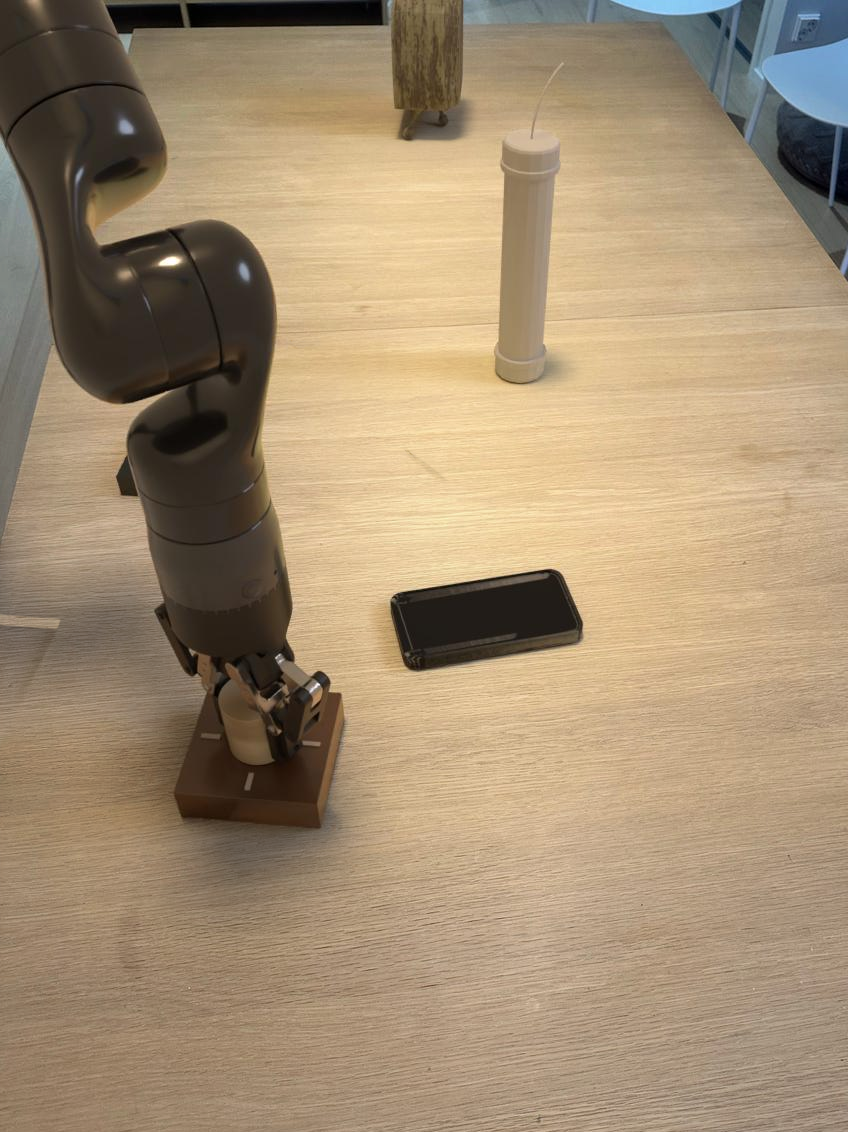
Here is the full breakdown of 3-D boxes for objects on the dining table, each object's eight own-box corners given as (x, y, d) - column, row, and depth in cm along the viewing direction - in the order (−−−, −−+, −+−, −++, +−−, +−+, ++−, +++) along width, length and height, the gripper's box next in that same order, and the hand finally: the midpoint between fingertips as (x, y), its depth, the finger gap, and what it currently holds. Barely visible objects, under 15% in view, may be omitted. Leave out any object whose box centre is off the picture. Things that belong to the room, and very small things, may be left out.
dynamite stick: (482, 368, 114) (490, 68, 91) (525, 347, 116) (542, 52, 94) (518, 391, 111) (534, 87, 89) (560, 369, 114) (586, 70, 92)
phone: (387, 594, 88) (559, 566, 91) (388, 603, 89) (558, 576, 92) (406, 662, 83) (587, 631, 86) (406, 672, 84) (586, 641, 87)
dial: (216, 744, 75) (203, 697, 71) (261, 706, 78) (251, 658, 74) (260, 775, 73) (249, 729, 70) (304, 736, 76) (296, 689, 72)
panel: (180, 817, 75) (172, 792, 72) (216, 707, 81) (209, 681, 79) (321, 828, 74) (316, 803, 72) (344, 717, 81) (341, 691, 79)
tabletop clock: (403, 104, 162) (398, -89, 143) (462, 106, 162) (464, -86, 143) (395, 144, 152) (387, -58, 134) (457, 146, 152) (458, -56, 134)
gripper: (354, 577, 62) (371, 750, 75) (183, 483, 67) (226, 659, 80) (264, 654, 58) (298, 823, 70) (90, 547, 63) (151, 722, 76)
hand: (260, 735), depth 75 cm, fingers closed on dial, 4 cm apart
